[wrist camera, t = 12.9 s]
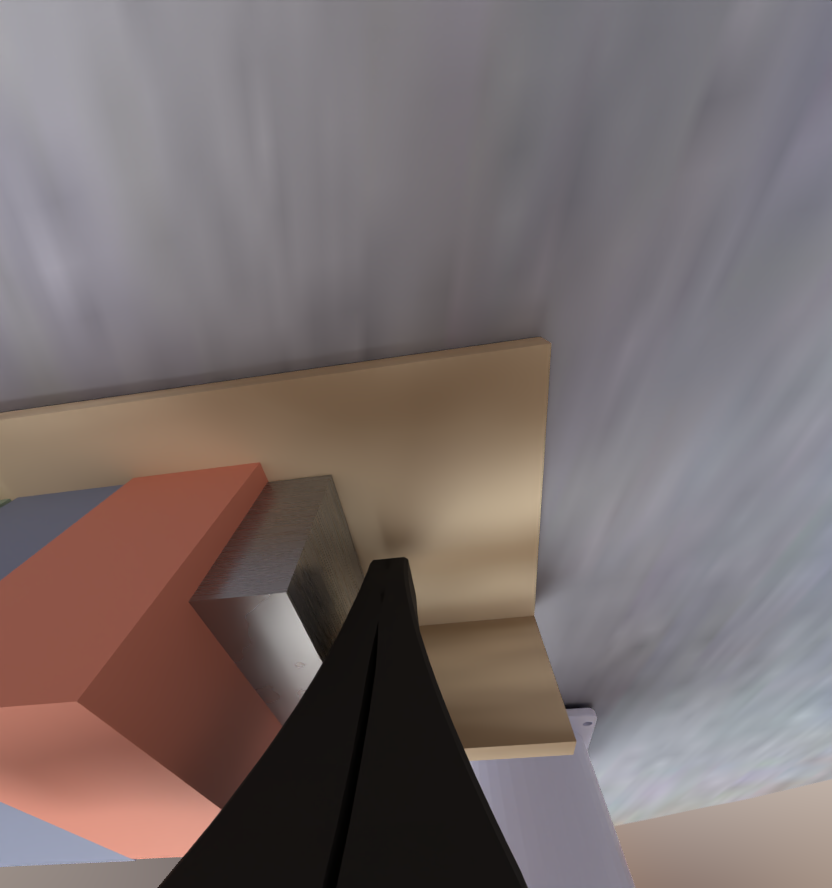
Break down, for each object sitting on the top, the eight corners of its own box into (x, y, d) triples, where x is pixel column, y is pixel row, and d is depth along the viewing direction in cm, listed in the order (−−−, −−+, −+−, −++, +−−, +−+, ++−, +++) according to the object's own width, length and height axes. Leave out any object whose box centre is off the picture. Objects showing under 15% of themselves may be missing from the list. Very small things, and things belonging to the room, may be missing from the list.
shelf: (527, 612, 15) (605, 854, 9) (71, 652, 16) (-133, 885, 10) (540, 336, 9) (811, 499, 3) (-182, 438, 10) (-1036, 692, 4)
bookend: (376, 616, 13) (364, 743, 10) (328, 620, 13) (298, 747, 10) (331, 474, 10) (286, 592, 6) (267, 482, 10) (188, 601, 6)
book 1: (241, 634, 14) (136, 860, 9) (152, 642, 14) (-2, 866, 9) (136, 482, 10) (-169, 727, 5) (17, 497, 10) (-398, 745, 5)
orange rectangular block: (331, 623, 14) (279, 852, 8) (238, 631, 14) (131, 859, 9) (259, 462, 10) (76, 701, 4) (133, 477, 10) (-182, 720, 5)
